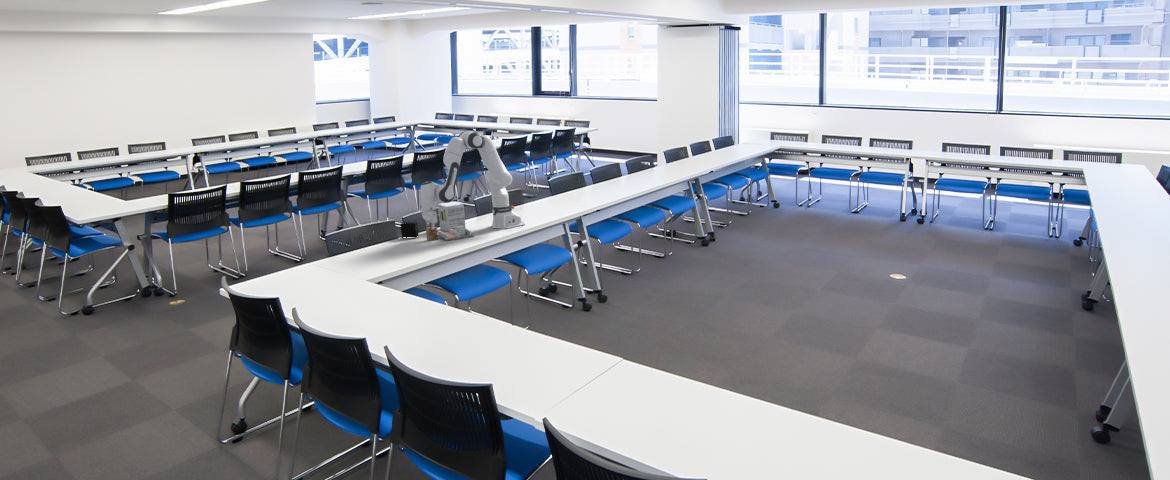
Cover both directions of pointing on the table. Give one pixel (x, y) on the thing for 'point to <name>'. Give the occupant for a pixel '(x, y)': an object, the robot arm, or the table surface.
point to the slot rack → (455, 234)
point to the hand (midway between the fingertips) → (430, 228)
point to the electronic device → (409, 229)
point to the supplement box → (451, 215)
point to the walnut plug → (431, 234)
